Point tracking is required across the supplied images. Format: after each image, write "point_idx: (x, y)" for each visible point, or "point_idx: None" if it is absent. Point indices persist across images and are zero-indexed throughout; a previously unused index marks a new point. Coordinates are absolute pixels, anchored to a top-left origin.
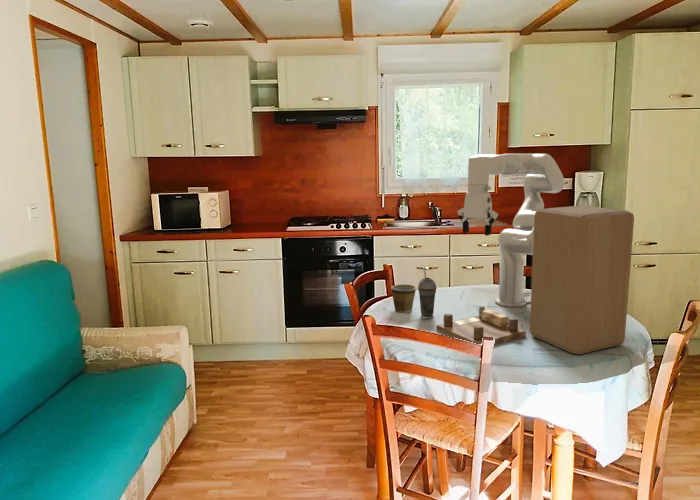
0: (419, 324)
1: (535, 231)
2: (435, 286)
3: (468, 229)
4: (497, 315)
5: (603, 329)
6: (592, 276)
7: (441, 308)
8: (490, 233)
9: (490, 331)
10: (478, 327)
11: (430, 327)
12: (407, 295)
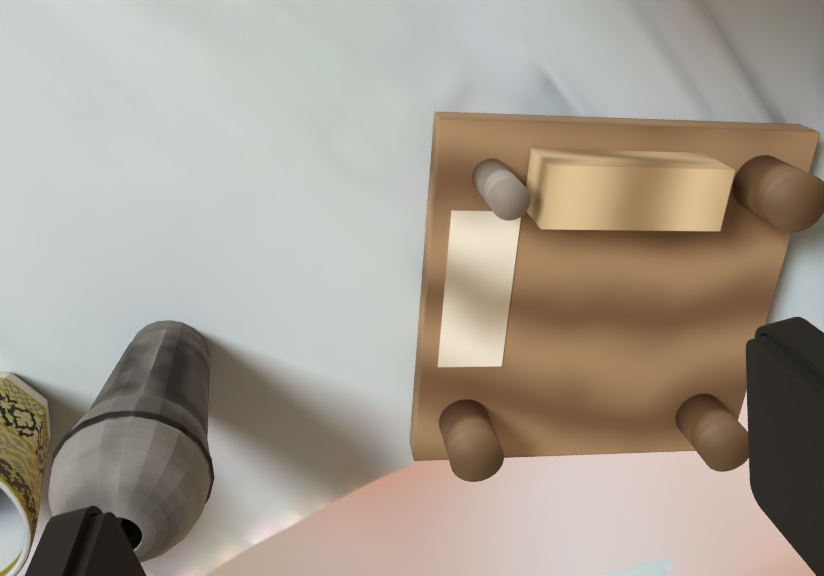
0: (280, 464)
1: None
2: (192, 455)
3: (94, 566)
4: (674, 217)
5: None
6: None
7: (59, 173)
8: (810, 332)
9: (680, 299)
10: (728, 451)
11: (356, 443)
12: (37, 518)
